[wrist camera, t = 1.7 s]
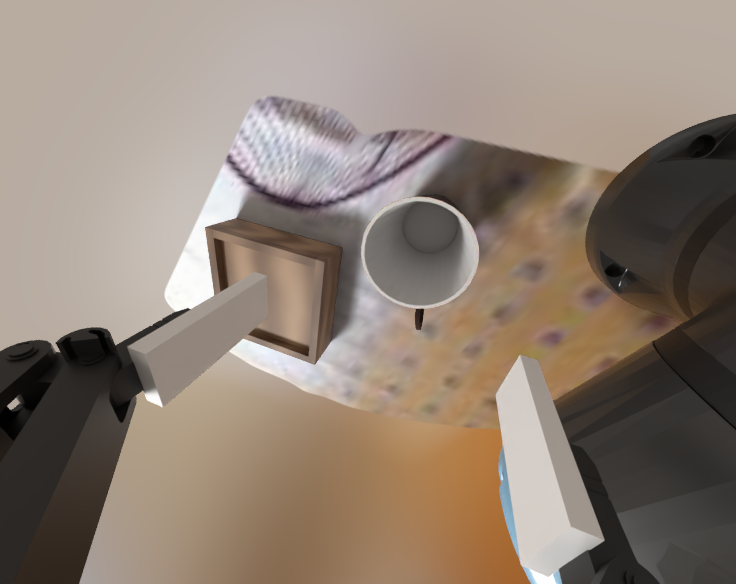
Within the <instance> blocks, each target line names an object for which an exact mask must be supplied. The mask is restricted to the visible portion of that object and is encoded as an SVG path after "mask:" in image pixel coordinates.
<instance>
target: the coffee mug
mask: <svg viewBox="0 0 736 584" xmlns="http://www.w3.org/2000/svg"><path fill="white" fill-rule="evenodd" d="M361 259H362V265H363V268H364V271H365V273H366V276H367V277H368V279H369V281H370V282H371V284H372V285H373V286H374V287H375V289H376V290H377V291H378V292H379V293H380V294H382V295H383V296H384V297H385V298H387V299H389V300H390V301H392V302H394V303H396V304H399V305H402V306H404V307H409V308H415V309H416V312H415V325H416V330H421V327H422V322H423V314H424V309H427V308H433V307H438V306H441V305H443V304H446V303H448V302H450V301H452V300H453V299H455V298H457V297H458V296H459V295H460V294H461V293H462V292H464V291H465V289H466V288H467V287H468V285H469V284H470V283H471V282H472V279H473V277H474V275H475V273H476V271H477V266H478V262H479V246H478V241H477V237H476V234H475V232H474V230H473V228H472V226H471V224H470V223H469V222H468V220H467V219H466V218H465V217H464V215H463V214H462V213H461V212H460V211H459V209H458V208H457V207H456V206H455V205H454V204H453V203H452V202H451V201H450V200H449V199H447V198H445V197H443V196H439V195H423V196H416V197H409V198H404V199H401V200H398V201H395V202H392V203H391V204H389V205H387V206H386V207H384V208H383V209H381V210H380V211H379V212H378V213H377V214H376V215H375V216H374V217H373V219H372V220H371V221H370V223H369V224H368V226H367V228H366V230H365V233H364V235H363V239H362V244H361Z"/></svg>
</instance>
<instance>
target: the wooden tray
mask: <svg viewBox="0 0 736 584" xmlns="http://www.w3.org/2000/svg"><path fill="white" fill-rule="evenodd" d="M205 230H206V237H207V244H208V252H209V259H210V266H211V273H212V280H213V287H214V295H216V294H218V293H220V292H221V291H223V290H225V289H227V288H228V287H230V286H232V285H233V284H235V283H237V282H238V281H240V280H242V279H244V278H245V277H247V276H249V275H250V274H252V273H254V272H256V273H259V274H263V275H266V276H267V296H268V317H267V318H266V319H265V320H264V321H263V322H262V323H260V324H259V325H258V326H257V327H256V328H255V329H253V330H252V331H251V332H250V333H249V334H248V335H247V336H245V337H244V339H246V340H249V341H252V342H254V343H257V344H260V345H263V346H265V347H268V348H271V349H273V350H276V351H279V352H282V353H284V354H287V355H290V356H293V357H295V358H298V359H301V360H303V361H306V362H309V363H312V364H314V365H315V364H316V362H317V361H318V360H319V358H320V357H321V355H322V354H323V352H324V351H325V349H326V348H327V347H328V345H329V344H330V342H331V334H332V326H333V318H334V310H335V302H336V294H337V286H338V278H339V270H340V263H341V255H342V248H341V247H338V246H334V245H331V244H327V243H323V242H320V241H316V240H313V239H309V238H305V237H302V236H298V235H295V234H291V233H287V232H284V231H280V230H277V229H273V228H269V227H266V226H262V225H259V224H255V223H251V222H248V221H244V220H241V219H237V218H235V219H232V220H228V221H225V222H221V223H218V224H215V225H211V226H208V227H205Z"/></svg>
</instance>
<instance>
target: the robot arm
mask: <svg viewBox="0 0 736 584" xmlns="http://www.w3.org/2000/svg"><path fill="white" fill-rule="evenodd" d="M586 252H587V257H588V260H589V263H590V265H591V267H592V269H593V271H594V273H595V274H596V275H597V277H598V278H599V279H600V280H601V281H602V282H603V283H604V284H605V285H606V286H607V287H608V288H610V289H611V290H612V291H613V292H614V293H615V294H617V295H618V296H619V297H621V298H622V299H624V300H625V301H627V302H629V303H631V304H633V305H635V306H637V307H640V308H642V309H645V310H648V311H652V312H655V313H658V314H662V315H665V316H668V317H672V318H675V319H678V320H682V321H685V322H684V323H683V324H681V325H680V326H678V327H676V328H675V329H673V330H671V331H670V332H668V333H667V334H665V335H663V336H662V337H660V338H658V339H657V340H654V341H652V342H650V343H649V344H647V345H645V346H644V347H642V348H641V349H639V350H637V351H636V352H634V353H632V354H631V355H629V356H627V357H626V358H624V359H622V360H621V361H619V362H617V363H616V364H614V365H613V366H611V367H609V368H608V369H606V370H604V371H603V372H601V373H599V374H598V375H596V376H594V377H593V378H591V379H589V380H588V381H586V382H585V383H583V384H581V385H580V386H578V387H576V388H575V389H573V390H571V391H570V392H568V393H566V394H565V395H563V396H561V397H560V398H558V399H557V400H554V401H553V400H552V397H551V395H550V392H549V389H548V387H547V384H546V381H545V379H544V376H543V373H542V370H541V368H540V365H539V362H538V360H535V359H532V358H529V357H526V356H523V355H519V357H518V359H517V360H516V362H515V364H514V365H513V367H512V369H511V370H510V372H509V374H508V375H507V377H506V379H505V380H504V382H503V384H502V385H501V387H500V388H499V390H498V392H497V393H496V400H497V407H498V413H499V420H500V427H501V434H502V441H503V446H502V449H501V453H500V458H499V475H500V480H501V486H500V497H501V502H502V507H503V512H504V516H505V520H506V524H507V527H508V530H509V533H510V536H511V539H512V542H513V545H514V547H515V550H516V552H517V555H518V557H519V559H520V563H521V566H523V568H524V571H525V573H526V575H527V577H528V579H529V581H530V582H531V584H736V114H732V115H728V116H723V117H719V118H716V119H712V120H708V121H706V122H703V123H700V124H697V125H694V126H692V127H689V128H687V129H685V130H683V131H680V132H678V133H676V134H674V135H672V136H670V137H668V138H666V139H665V140H663V141H661V142H660V143H658V144H656V145H655V146H653V147H652V148H650V149H648V150H647V151H646V152H644V153H643V154H641V155H640V156H639V157H638V158H636V159H635V160H634V161H633V162H632V163H630V164H629V165H628V166H627V167H626V168H625V169H624V170H623V171H622V172H621V173H620V174H619V175H618V176H617V177H616V178H615V179H614V180H613V181H612V182H611V184H610V185H609V186H608V187H607V189H606V190H605V191H604V193H603V194H602V196H601V197H600V199H599V200H598V202H597V204H596V206H595V208H594V210H593V212H592V214H591V217H590V220H589V223H588V227H587V232H586ZM267 317H268V296H267V276H266V275H263V274H259V273H256V272H254V273H252V274H250V275H249V276H247V277H245V278H244V279H242V280H240V281H238V282H237V283H235V284H233V285H232V286H230V287H228V288H227V289H225V290H223V291H221V292H220V293H218V294H216V295H215V296H213V297H211V298H210V299H208V300H206V301H204V302H203V303H201V304H199V305H198V306H196V307H194V308H192V309H189V308H187V309H184V310H181V311H177V312H174V313H172V314H171V315H169V316H167V317H165V318H163V319H162V321H158V322H156V323H155V324H153V326H149V327H148V328H146V329H144V330H142V331H140V332H139V333H137V334H135V335H133V336H132V337H130V338H128V339H126V340H124V341H123V342H121V343H119V344H117V345H115V344H114V341H113V339H112V337H111V334H110V332H109V331H108V330H107V329H103V328H86V329H81V330H77V331H74V332H71V333H69V334H67V335H65V336H63V337H62V338H60V339H59V340H58V341H57V342H56V344H57V346H58V348H59V350H60V352H55V350H54V348H53V346H52V345H51V343H49V342H48V341H43V340H34V341H27V342H22V343H18V344H16V345H13V346H10V347H8V348H6V349H4V350H2V351H0V584H79V582H80V578H81V576H82V573H83V569H84V566H85V563H86V560H87V556H88V553H89V550H90V547H91V544H92V541H93V538H94V535H95V531H96V528H97V525H98V522H99V519H100V516H101V513H102V509H103V506H104V503H105V500H106V497H107V494H108V490H109V487H110V484H111V481H112V478H113V475H114V472H115V468H116V465H117V462H118V459H119V456H120V453H121V449H122V446H123V443H124V440H125V437H126V434H127V431H128V427H129V424H130V421H131V418H132V415H133V412H134V408H135V405H136V395H137V394H139V393H140V392H141V391H142V390H143V391H144V393H145V396H146V399H147V400H148V401H150V402H152V403H155V404H157V405H159V406H161V407H164V406H165V405H166V404H168V403H169V402H170V401H171V400H172V399H173V398H175V397H176V396H177V395H178V394H179V393H180V392H182V390H184V389H185V388H186V387H187V386H188V385H190V384H191V383H192V382H193V381H194V380H195V379H197V378H198V377H199V376H200V375H201V374H202V373H204V372H205V371H206V370H207V369H208V368H209V367H210V366H212V365H213V364H214V363H215V362H216V361H217V360H219V359H220V358H221V357H222V356H223V355H224V354H226V353H227V352H228V351H229V350H230V349H231V348H233V347H234V346H235V345H236V344H237V343H238V342H240V341H241V340H242V339H243V338H244V337H245V336H247V335H248V334H249V333H250V332H251V331H252V330H253V329H255V328H256V327H257V326H258V325H259V324H260V323H262V322H263V321H264V320H265V319H266V318H267ZM15 398H17V400H18V401H19V402H20V404H19V405H17V406H16V407H15V408H14V409H12V410H10V409H9V408H8V407H7V405H8V404H9V403H11V402H12V401H13V400H14V399H15Z"/></svg>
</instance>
